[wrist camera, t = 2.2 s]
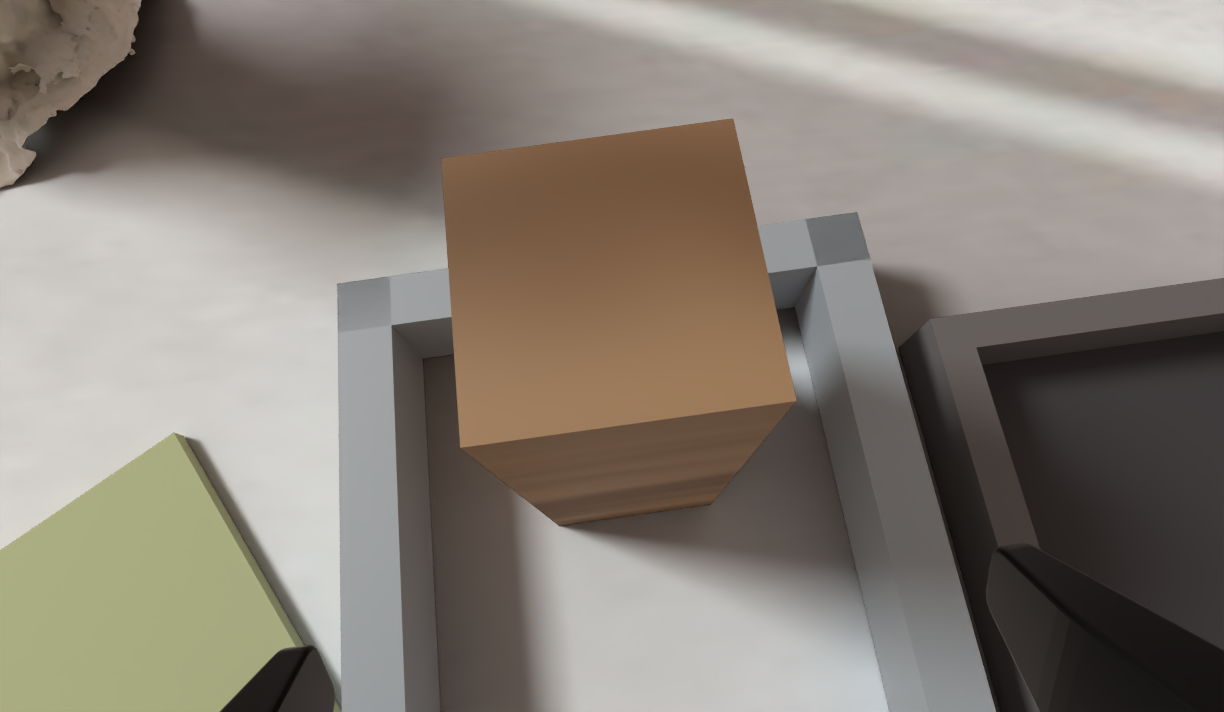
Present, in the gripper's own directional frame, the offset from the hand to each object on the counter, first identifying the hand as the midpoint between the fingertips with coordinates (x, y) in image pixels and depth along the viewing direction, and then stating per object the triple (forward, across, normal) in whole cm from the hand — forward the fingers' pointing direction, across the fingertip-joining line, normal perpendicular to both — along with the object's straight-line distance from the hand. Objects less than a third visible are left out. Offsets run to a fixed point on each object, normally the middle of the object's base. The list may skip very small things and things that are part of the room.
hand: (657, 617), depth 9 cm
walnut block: (+11, 0, +5) cm, 12 cm away
